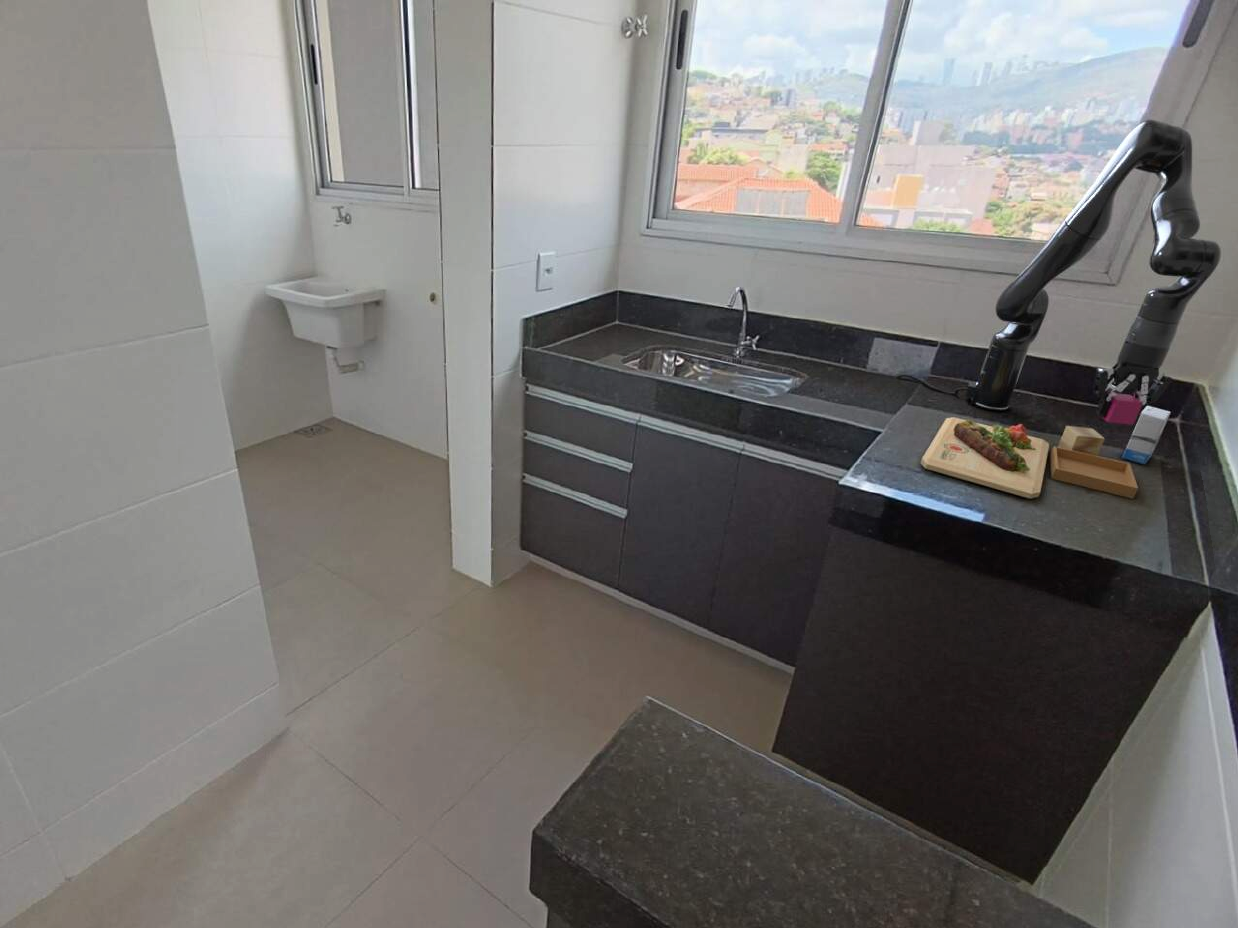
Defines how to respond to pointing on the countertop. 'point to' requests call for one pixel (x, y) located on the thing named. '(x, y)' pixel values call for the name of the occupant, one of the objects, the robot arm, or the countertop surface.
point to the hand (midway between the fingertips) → (1115, 417)
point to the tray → (1093, 472)
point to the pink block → (1123, 409)
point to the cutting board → (989, 456)
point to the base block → (1081, 440)
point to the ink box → (1146, 434)
